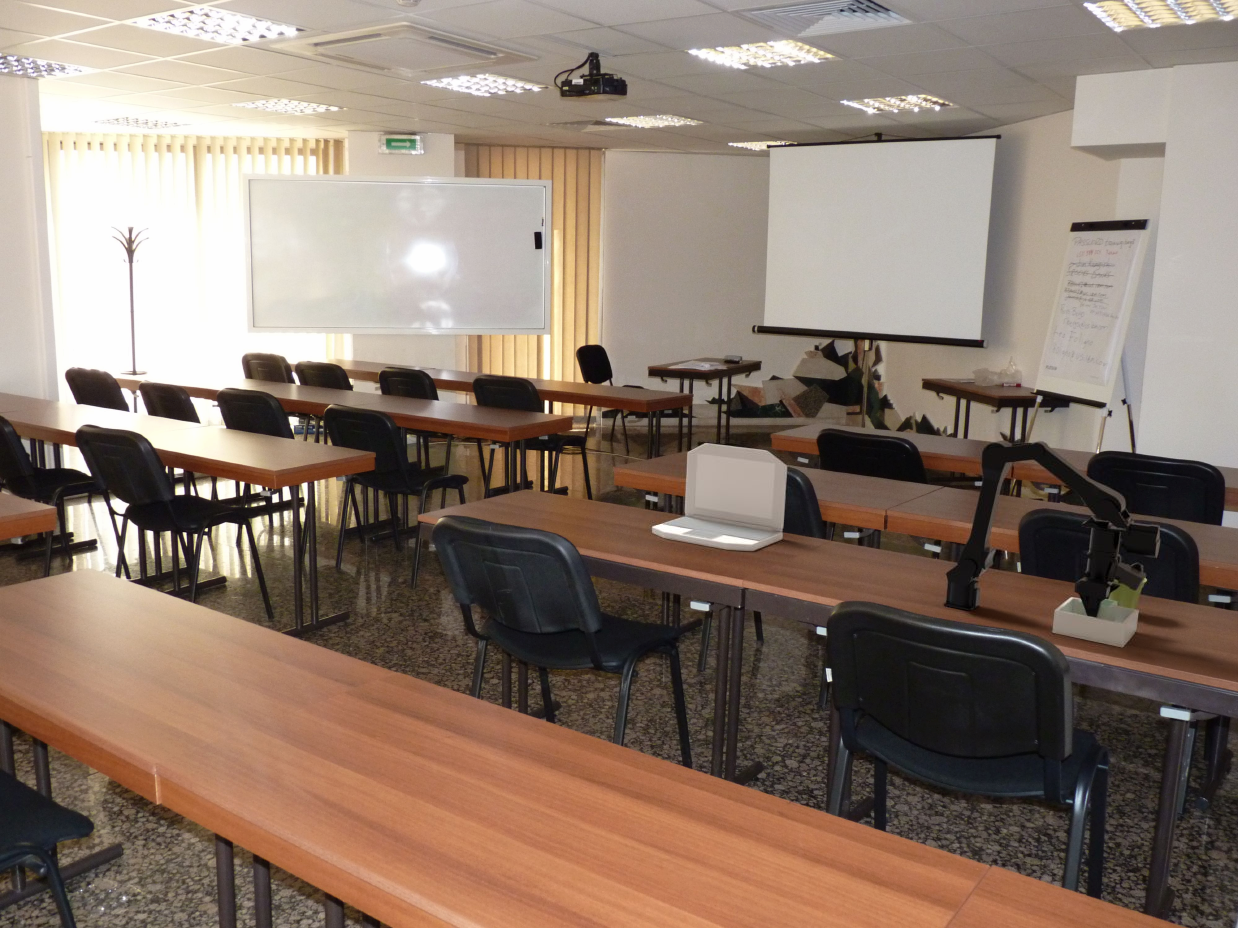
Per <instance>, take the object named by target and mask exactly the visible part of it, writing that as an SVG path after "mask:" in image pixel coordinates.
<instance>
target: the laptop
mask: <svg viewBox="0 0 1238 928" xmlns="http://www.w3.org/2000/svg"><path fill="white" fill-rule="evenodd" d="M686 455H687V459H686V479H685V496H684V497H685V498H684V500H685V501H684V513H685V514H684V516H682V517H679V518H675V519H672V520H668V521H666V522H662V523H661V524H657V525H653V526H652V527H651V530H652V531H651V532H652V534H654V535H656V536H658V537H660V538H663V539H667V540H672V541H676V542H677V541H679V542H681V543H682V542H683V543H689V544H694V545H698V546H699V545H700V546H705V547H710V548H716V549H721V550H726V551H745V552H754V551H756V550H758V549H762V548H763V547H767V546H769V545H771V544H774V543H776V542H779V541H781V540H783V535H784V534H783V529H784V522H785V521H784V520H785V508H786V507H785V506H786V491H787V490H786V489H787V478H788V477H787V475H788V465H786V464H785V463H784V462H783V461H782V460H780V459H779V458H777V456H775V455H774V454H773V453H771V452H770V451H768V450H764V449H758V448H757V449H756V448H748V447H741V446H732V445H723V444H715V443H707V442H705V443H703V444H701V445H699V446H697V447H695V448H693V449H692V450H689V451H687V453H686Z"/></svg>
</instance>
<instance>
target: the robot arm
mask: <svg viewBox="0 0 1238 928" xmlns="http://www.w3.org/2000/svg"><path fill="white" fill-rule="evenodd" d="M1024 461H1034V462H1036V463H1037V464H1039V465H1040V466H1041V467H1043V468H1044V469H1045V470H1046V471H1048V472H1049V473H1050V474H1051V475H1053V476H1054V477H1056V479H1058V480H1059V481H1061V482H1062V483H1063V484H1064V485H1065V486H1067V487H1068V488H1069V489H1070V490H1071V491H1073V492H1074V493H1076V494H1077V496H1079V497H1080V499H1081V500H1082V503H1084V505H1085V506H1086V508H1088V510H1090V512H1091V513H1092V514H1093V515H1091V516H1090V517H1088V519H1087V520H1085V521H1083V522H1082V523H1081V526H1082V527H1083V528H1088V529H1089V528H1090V529H1091V530H1090V531H1091V532H1090V537H1089V538H1090V539H1089V540H1090V541H1089V550H1088V552H1087V553H1086V555H1085V559H1087V565H1086V570H1085V571H1084V573H1083V578H1080V579H1079V580H1078V581H1076V582H1075V584H1074V593H1076V594H1078V597H1079V599H1081V601H1082V603H1083V606H1084V608H1085V611H1086V614H1087V616H1090V617H1095V618H1097V615H1098V612H1099V609H1100V606H1101V602H1102V601H1103V600H1105V599H1109V597H1110V594H1111V592H1113V591H1114V590H1116V589H1118V588H1119V587H1120V585H1119V584H1114V581H1115V580H1117V581H1118V583H1120V584H1121V583H1122V584H1124V585H1126V586H1128V587H1129V588H1130V589H1132V590H1135V591H1137V590H1138V588H1140V586H1141V584H1142V582H1143V581H1144V579H1145V578H1146V577H1147V574H1146V572H1144V565H1143V564H1141V563H1139V562H1138V561H1137V562H1135V563H1133V564H1131V565H1130V564H1128V563H1127V564H1126V563H1124V562H1122V556H1121V554H1119V550H1120V544H1121V548H1122V549H1123V550H1124V551H1126V554H1131V555H1137V556H1144V557H1147V558H1148V557H1149V558H1155V559H1157V557H1158V555H1159V550H1160V545H1161V538H1160V533H1161V532H1160V528H1161V526H1160V525H1159V524H1145V523H1140V522H1139V523H1138V522H1135V520H1134V518H1133V517H1132V515H1131V514H1130V513H1129V511H1128V510H1127V508H1126V507H1127V506H1126V505H1127V504H1126V498H1125V496H1123V494H1121V493H1120V492H1118V491H1116V490H1114V489H1112V488H1111V487H1109V486H1107V485H1105V484H1102V483H1101V482H1097V481H1095V480H1094V479H1091V478H1090V477H1089V476H1088V475H1086V474H1085V473H1084V472H1082V471H1081V470H1080V469H1079V468H1077V467H1076V466H1075V465H1073V464H1072V463H1071V462H1070V461H1068V460H1067V459H1066V458H1064V456H1061V455H1060V454H1059V453H1057V452H1056V450H1054V449H1052V448H1051V447H1050V446H1049V445H1048V443H1047V442H1045V441H1041V440H1038V441H1033V442H1019V443H1018V442H1017V443H1011V442H1009V441H1007V440H1002V439H1001V440H997V441H994V442H990V443H989V444H987V445H986V446H984V447H983V449H982V452H981V463H980V464H981V465H980V466H981V475H982V483H981V486H980V491H979V496H978V498H977V499H978V501H977V504H976V508H975V512H974V517H973V521H972V525H971V529H970V530H971V531H970V535H969V538H968V539H967V541H966V543H965V545H964V547H963V549H962V550H961V553H960V555H959V557H958V559H957V562H956V565H955V566H954V567H952V568H951V569H949V570H948V571H947V572H946V573H945V576H946V580H947V585H946V597H945V601H944V602H943V604H942V605H943V606H945V607H951V608H956V609H959V610H965V611H972V610H974V609H975V608H977V607H978V606H979V605H980V596H981V588H980V587H979V580H977V579H980V576H981V575H982V574H984V573H985V572H986V571H987V570H988V569H989V568H990V567H992V565H994V561H993V559H994V556H995V553H996V550H997V548H995V547H991V543H990V537H991V533H992V528H993V524H994V520H995V515H996V511H997V507H998V503H999V499H1000V493H1001V489H1002V485H1003V482H1004V480H1005V478H1006V477H1007V475H1008V473H1009V471H1010V469H1011V468H1012V467H1011V466H1012V465H1013V463H1017V462H1018V463H1019V462H1024ZM1121 534H1122V538H1121ZM1121 539H1122V540H1121ZM1120 542H1121V543H1120Z"/></svg>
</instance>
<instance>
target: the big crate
mask: <svg viewBox="0 0 1238 928" xmlns="http://www.w3.org/2000/svg"><path fill="white" fill-rule="evenodd" d="M1079 600H1081V598H1080V597H1069V598H1068V599H1067V600H1065V601H1064V602H1063V603H1061V605H1059V606H1058V607H1057V608H1056V609H1055V610H1054V613H1053V623H1052V631H1051V632H1052V634H1053V633H1054V634H1057V635H1062V636H1067V637H1072V638H1077V639H1080V640H1081V639H1082V640H1086V641H1091V642H1095V643H1101V644H1105V645H1109V646H1113V647H1118V648H1119V647H1120V648H1124V646H1125V645H1126V644H1127V643H1128V642H1129V641H1130V640H1131V638H1133V636H1134V635H1135V634H1136V633H1137V626H1138V621H1139V619H1138V618H1139V609H1137V608H1136V609H1131V608H1126V607H1121V606H1117V610H1116V618H1115V621H1110V620H1105V619H1100V618H1095V617H1090V616H1085V615H1080V614H1077V610H1078V601H1079ZM1135 632H1136V633H1135Z"/></svg>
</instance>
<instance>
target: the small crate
mask: <svg viewBox="0 0 1238 928" xmlns="http://www.w3.org/2000/svg"><path fill="white" fill-rule="evenodd" d="M1117 602H1118V601H1114V600H1108V599H1105V600H1103V601H1102V602H1101V606H1100V609H1099V612H1098V615H1097V618H1100V619H1105V620H1110V621H1115V618H1116V610H1117ZM1077 614H1080V615H1085V616H1087V614H1086V611H1085V608H1084V606H1083V603H1082V601H1081V600H1079V601H1078V610H1077Z"/></svg>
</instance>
